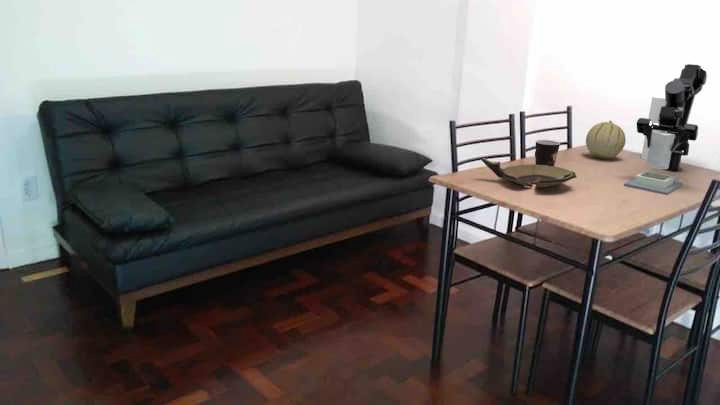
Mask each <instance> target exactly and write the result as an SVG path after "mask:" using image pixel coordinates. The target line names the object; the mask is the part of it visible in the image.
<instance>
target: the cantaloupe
mask: <svg viewBox="0 0 720 405" xmlns="http://www.w3.org/2000/svg"><path fill="white" fill-rule="evenodd" d="M585 138H586V139H585V145H586V148H587V150H588V151H589V153H590V154H591V155H593V156H594V157H596V158H598V159H611V158H615V157H616V156H618V155H619V154H620V153H621V152H622V151H623V150H624V148H625V145H626V143H627V142H626V134H625V132H624V130H623V129H622V127H620V126H619V125H617V124H615V123H613V121H612V120H609V121H603V122H599V123H596V124H594V125H593V126H592V127H591V128H590V129H589V131H588V132H587V134H586V137H585Z"/></svg>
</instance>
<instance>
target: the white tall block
mask: <svg viewBox="0 0 720 405" xmlns="http://www.w3.org/2000/svg"><path fill="white" fill-rule="evenodd" d="M665 105H666V100H665V96H663V95H662V96H661V95H653V96H652V98H651V103H650V109H649V113H648V118H647V119H651V122H652V123H655V124H659V122H658V119H659V114H660V110H661V107H665ZM653 131H661V130H654V129H653V130H652V132H653ZM663 132H665V131H663ZM648 152H649V148H648V146H647V137H646V136H644V140H643V145H642V151H641V157H640V158H641V159H643V160H646V161H647V157H648Z"/></svg>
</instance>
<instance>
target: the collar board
mask: <svg viewBox="0 0 720 405" xmlns="http://www.w3.org/2000/svg"><path fill="white" fill-rule="evenodd" d="M683 185H684V182H683V181H679V180H678V181H677V180H675V176H674V175H669V174H663V173H658V172H653V171H648V170H644V171H642V172H640V173H639V174H637V175H636V177H634V178H632V179H630V180H628V181H626V182H624V183H623V186H624V187H628V188H633V189H638V190H642V191H648V192H651V193H656V194H661V195H667V196H668V195H669V194H671V193H672V192H674V191H676V190H677V189H679V188H680V187H681V186H683Z"/></svg>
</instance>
